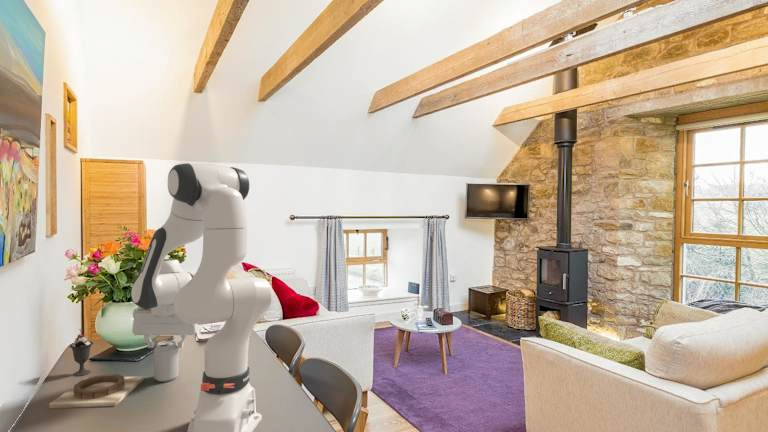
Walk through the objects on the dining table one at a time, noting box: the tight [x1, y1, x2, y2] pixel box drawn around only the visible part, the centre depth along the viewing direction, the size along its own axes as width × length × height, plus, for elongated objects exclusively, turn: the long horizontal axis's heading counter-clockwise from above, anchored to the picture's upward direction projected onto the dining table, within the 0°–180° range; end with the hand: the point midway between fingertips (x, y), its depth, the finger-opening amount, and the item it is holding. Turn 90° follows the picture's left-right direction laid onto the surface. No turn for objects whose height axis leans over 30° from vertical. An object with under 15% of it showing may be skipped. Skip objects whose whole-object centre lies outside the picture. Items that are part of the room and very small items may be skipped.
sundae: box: [69, 328, 94, 377], centre depth 149 cm, size 7×7×15 cm
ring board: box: [48, 373, 144, 409], centre depth 135 cm, size 18×18×3 cm
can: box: [153, 340, 180, 383], centre depth 146 cm, size 8×8×12 cm
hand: (165, 347), depth 146 cm, fingers open, 8 cm apart
